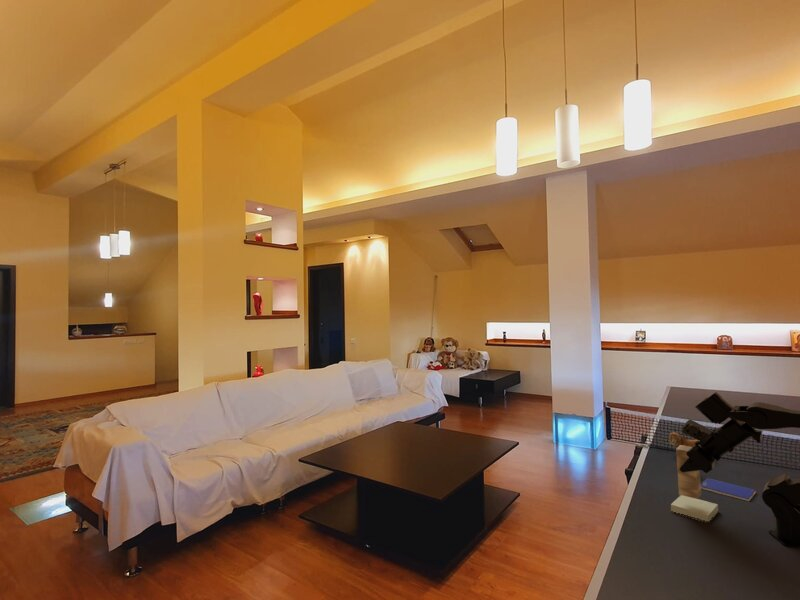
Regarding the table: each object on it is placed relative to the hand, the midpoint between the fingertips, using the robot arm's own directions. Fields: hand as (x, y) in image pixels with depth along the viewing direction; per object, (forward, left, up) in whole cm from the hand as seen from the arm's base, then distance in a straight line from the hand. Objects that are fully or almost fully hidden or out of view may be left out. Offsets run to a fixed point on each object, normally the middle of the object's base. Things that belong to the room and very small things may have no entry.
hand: (683, 468), depth 122 cm
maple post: (-1, -1, -7) cm, 7 cm away
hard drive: (+15, -18, -13) cm, 27 cm away
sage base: (0, -2, -13) cm, 13 cm away
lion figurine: (+44, -20, -13) cm, 50 cm away
